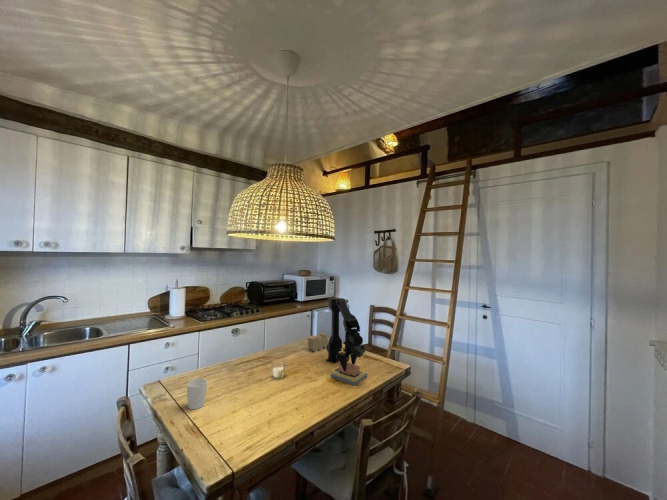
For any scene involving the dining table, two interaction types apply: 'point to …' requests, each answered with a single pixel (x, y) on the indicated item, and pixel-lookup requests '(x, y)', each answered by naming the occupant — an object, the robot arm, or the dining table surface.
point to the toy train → (317, 342)
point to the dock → (348, 377)
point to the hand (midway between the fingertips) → (349, 368)
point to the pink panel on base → (350, 369)
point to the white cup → (196, 393)
